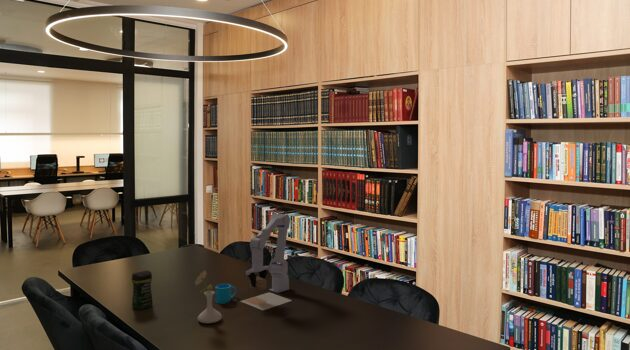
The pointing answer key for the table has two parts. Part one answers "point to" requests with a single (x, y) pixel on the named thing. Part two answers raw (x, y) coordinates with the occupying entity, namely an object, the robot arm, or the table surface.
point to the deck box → (258, 283)
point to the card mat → (266, 301)
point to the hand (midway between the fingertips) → (257, 285)
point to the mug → (224, 293)
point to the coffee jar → (142, 290)
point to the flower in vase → (208, 303)
